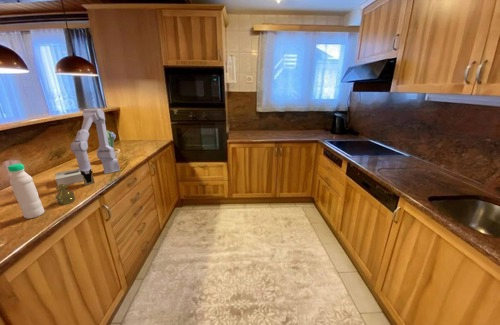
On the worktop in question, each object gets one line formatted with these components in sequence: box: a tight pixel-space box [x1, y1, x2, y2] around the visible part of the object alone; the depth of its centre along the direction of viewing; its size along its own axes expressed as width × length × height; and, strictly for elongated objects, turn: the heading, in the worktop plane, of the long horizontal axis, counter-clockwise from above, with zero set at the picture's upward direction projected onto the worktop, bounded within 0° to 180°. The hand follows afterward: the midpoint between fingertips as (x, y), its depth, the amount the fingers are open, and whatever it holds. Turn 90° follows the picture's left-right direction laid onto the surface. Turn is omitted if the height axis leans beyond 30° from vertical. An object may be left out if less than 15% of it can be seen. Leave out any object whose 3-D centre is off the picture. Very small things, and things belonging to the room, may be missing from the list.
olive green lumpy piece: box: [55, 184, 76, 206], centre depth 111 cm, size 7×7×10 cm
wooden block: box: [83, 174, 96, 186], centre depth 133 cm, size 5×2×5 cm, turn 131°
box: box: [54, 167, 84, 186], centre depth 140 cm, size 16×14×5 cm
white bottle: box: [7, 163, 45, 220], centre depth 97 cm, size 7×7×25 cm
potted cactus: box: [106, 129, 121, 160], centre depth 175 cm, size 15×15×25 cm
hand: (89, 181), depth 134 cm, fingers closed on wooden block, 2 cm apart
